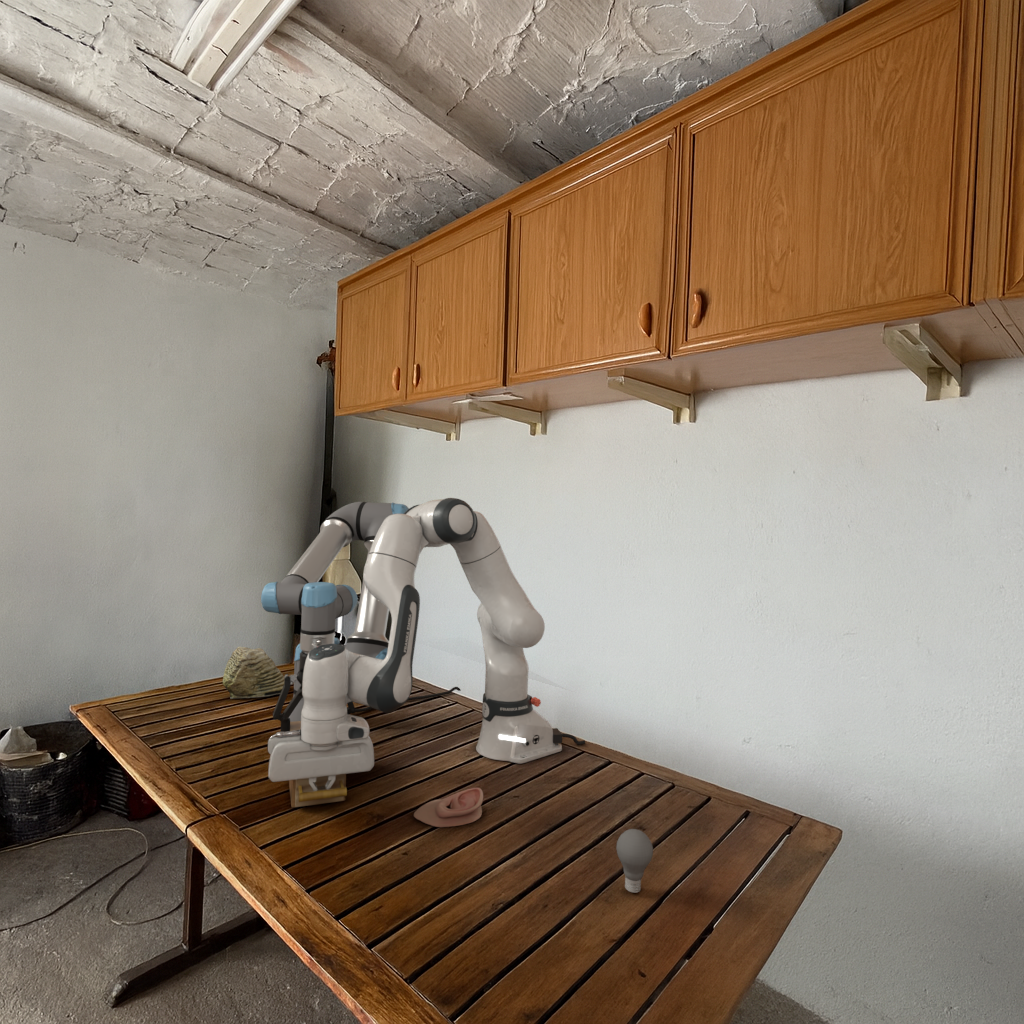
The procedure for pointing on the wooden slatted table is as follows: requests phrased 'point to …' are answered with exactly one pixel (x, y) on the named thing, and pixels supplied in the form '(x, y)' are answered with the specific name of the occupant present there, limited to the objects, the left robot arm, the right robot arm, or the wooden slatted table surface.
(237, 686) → the fossil
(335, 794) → the drawer
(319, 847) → the wooden slatted table surface
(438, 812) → the anatomical model
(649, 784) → the wooden slatted table surface
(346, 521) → the left robot arm
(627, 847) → the light bulb
